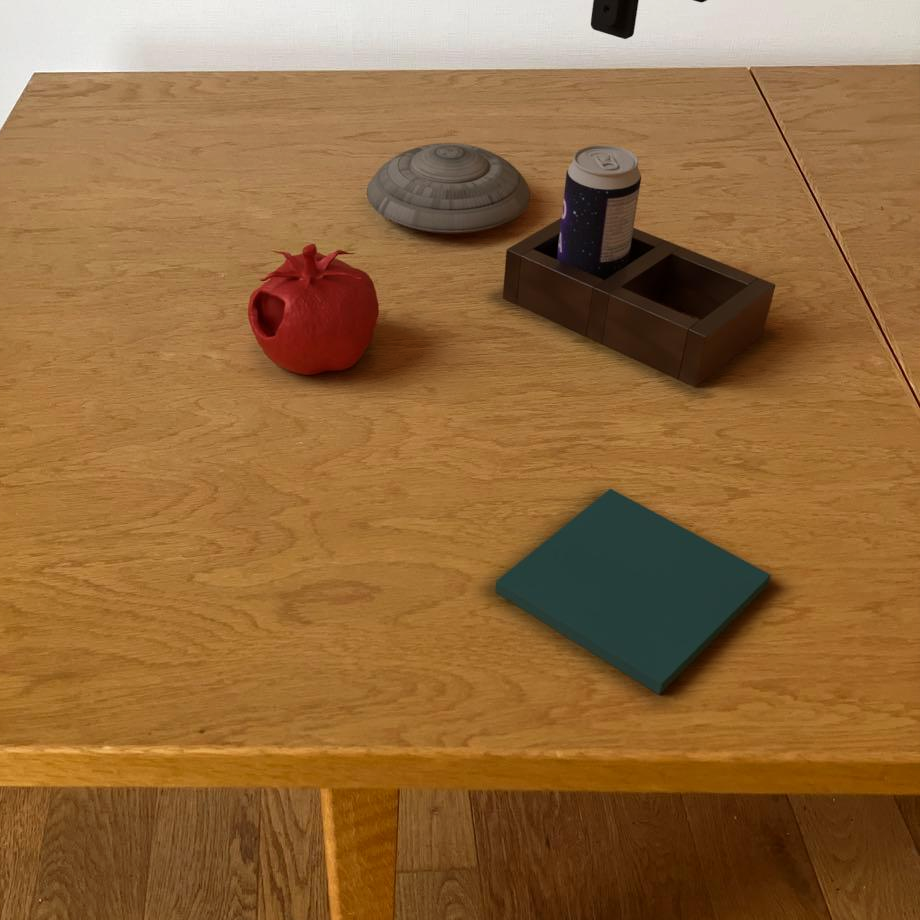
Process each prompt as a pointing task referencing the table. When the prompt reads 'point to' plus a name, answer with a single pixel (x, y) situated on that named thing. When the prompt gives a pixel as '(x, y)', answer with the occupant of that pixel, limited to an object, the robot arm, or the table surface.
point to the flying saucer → (448, 189)
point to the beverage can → (599, 210)
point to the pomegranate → (314, 313)
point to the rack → (645, 302)
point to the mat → (633, 588)
